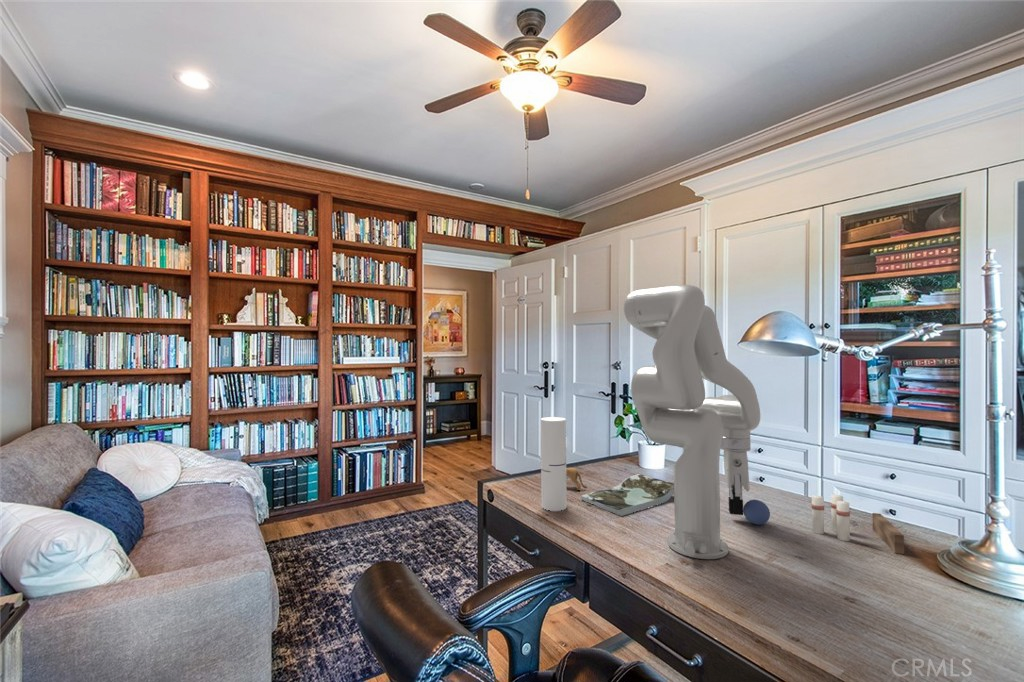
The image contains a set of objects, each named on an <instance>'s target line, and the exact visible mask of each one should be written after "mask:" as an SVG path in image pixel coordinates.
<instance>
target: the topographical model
mask: <svg viewBox="0 0 1024 682" xmlns="http://www.w3.org/2000/svg"><path fill="white" fill-rule="evenodd" d="M673 495H674V482H671V481H666V480H664V479H659V478H654V477H650V476H647V475H643V474H641V473H637V474H634V475H631V476H628V477H626V478H625V479H623V481H621V482H620V483H619V484H617V485H615V486H613V487H610V488H605V489H600V490H595V491H592V492H589V493H586V494H583V495H580V496H581V501H582V500H584V501H586V502H585V503H587V502H589V503H591V504H594V505H596V506H598V507H597V508H599V507H600V508H599V509H601V508H603V509H602V510H604V509H605V510H604V511H606V510H608V511H607V512H609V511H610V512H609V513H611V512H613V513H612V514H614V513H615V514H614V515H616V514H617V515H616V516H620V517H623V516H626V515H630V514H633V512H634V513H637V512H636V511H638V512H640V511H639V510H641V511H643V510H642V509H645V508H648V507H651V506H654V505H657V504H659V505H661V504H660V503H662V504H664V503H667V502H668V501H669V500H670V499H671V497H672V496H673ZM584 501H583V502H584ZM589 503H588V504H589ZM591 504H590V505H591ZM594 505H593V506H594ZM596 506H595V507H596ZM657 506H658V505H657ZM654 507H655V506H654ZM651 508H652V507H651ZM648 509H649V508H648ZM645 510H646V509H645Z"/></svg>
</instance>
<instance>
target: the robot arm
mask: <svg viewBox="0 0 1024 682" xmlns="http://www.w3.org/2000/svg"><path fill="white" fill-rule="evenodd" d="M705 301H706V300H705V294H704V292H703V291H702V290H701V288H699V287H698V286H695V285H691V284H676V285H675V284H674V285H665V286H658V287H649V288H640V289H637V290H633V291H632V292H630V293H629V294H628V295H627V296H626V297H625V300H624V302H623V312H624V316H625V318H626V320H627V322H628V323H629V324H630V326H632V327H633V328H635V329H636V330H638V331H640V332H642V333H643V334H645V335H647V336H649V337H650V338H653V339H655V340H656V341H655V343H654V346H653V348H652V353H651V354H652V360H653V363H654V365H647V366H642V367H640V368H638V369H637V370H636V371H635V372H634V373H633V376H632V378H631V384H630V391H631V392H630V393H631V398H632V401H633V403H634V407H635V410H636V411H637V412H636V413H637V415H638V419H639V421H640V424H641V426H642V430H643V432H644V434H645V436H646V437H647V438H648V439H649V440H650V441H651V442H653V443H655V444H659V445H666V446H671V447H678V448H682V449H684V451H683V452H682V454H681V455H680V456H679V457H678V459H677V460H676V461H675V463H674V464H675V465H674V466H673V483H674V494H673V495H674V496H673V497H674V498H673V499H674V501H673V503H674V532H672V533H670V535H668V537H667V544H668V546H669V548H671V550H673V551H674V552H676V553H679V554H680V555H682V556H685V557H689V558H693V559H701V560H717V559H722V558H725V557H726V555H728V553H729V546H728V544H727V543H726V541H725V540H723V539H722V538H721V499H720V498H721V496H720V459H721V458H720V456H721V450H722V451H723V469H724V471H723V472H724V478H725V479H724V480H725V483H726V486H727V488H728V512H729V514H730V515H736V516H744V512H743V508H744V498H743V489H744V490H745V491H746V492H750V475H749V473H750V472H749V461H748V460H749V459H748V453H747V452H750V451H751V449H752V448H751V446H752V445H751V431H753V430H755V429H756V428H758V426H759V425H760V423H761V408H760V403H759V399H758V396H757V392H756V388H755V386H754V384H753V383H752V382H751V380H750V379H749V377H747V376H746V374H745V373H743V371H741V370H740V369H739V368H738V367H737V366H735V365H734V364H732V363H731V362H730V361H729V360H728V359H727V356H726V352H725V348H724V345H723V340H722V337H721V333H720V330H719V325H718V321H717V318H716V315H715V312H714V311H713V309H712V307H710V306H709V305H706V304H705V303H706V302H705ZM703 380H705V381H708V382H710V383H712V384H715V385H717V386H719V387H721V388H724V389H725V390H726V391H728V392H730V393H731V394H725V395H724V394H723V395H720V396H718V397H715V396H714V397H713V396H708V397H706V389H705V384H704V381H703Z"/></svg>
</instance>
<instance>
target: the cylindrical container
mask: <svg viewBox="0 0 1024 682" xmlns="http://www.w3.org/2000/svg"><path fill="white" fill-rule="evenodd" d="M566 422H567V418H565V417H559V416H558V417H557V416H548V417H547V416H546V417H541V418H540V464H541V465H540V468H541V469H540V474H541V475H540V476H541V477H540V478H541V479H540V482H541V485H540V486H541V488H540V489H541V492H540V493H541V509H543V508H544V509H543V510H545V509H546V510H545V511H548V510H550V511H549V512H562V511H564V509H565V510H566V509H567V508H568V507H567V499H568V498H567V479H566V468H567V423H566ZM561 510H562V511H561Z"/></svg>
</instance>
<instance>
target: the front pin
mask: <svg viewBox="0 0 1024 682" xmlns="http://www.w3.org/2000/svg"><path fill="white" fill-rule="evenodd" d="M824 498H825V497H824V496H821V495H816V494H815V495H814V494H812V495H811V504H810V505H811V518H812V519H811V520H812V521H811V523H812V524H811V525H812V530H811V531H812V532H813V533H815V534H817V535H818V534H819V535H824V534H825V504H824V503H825V502H824V501H825V500H824Z"/></svg>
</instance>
